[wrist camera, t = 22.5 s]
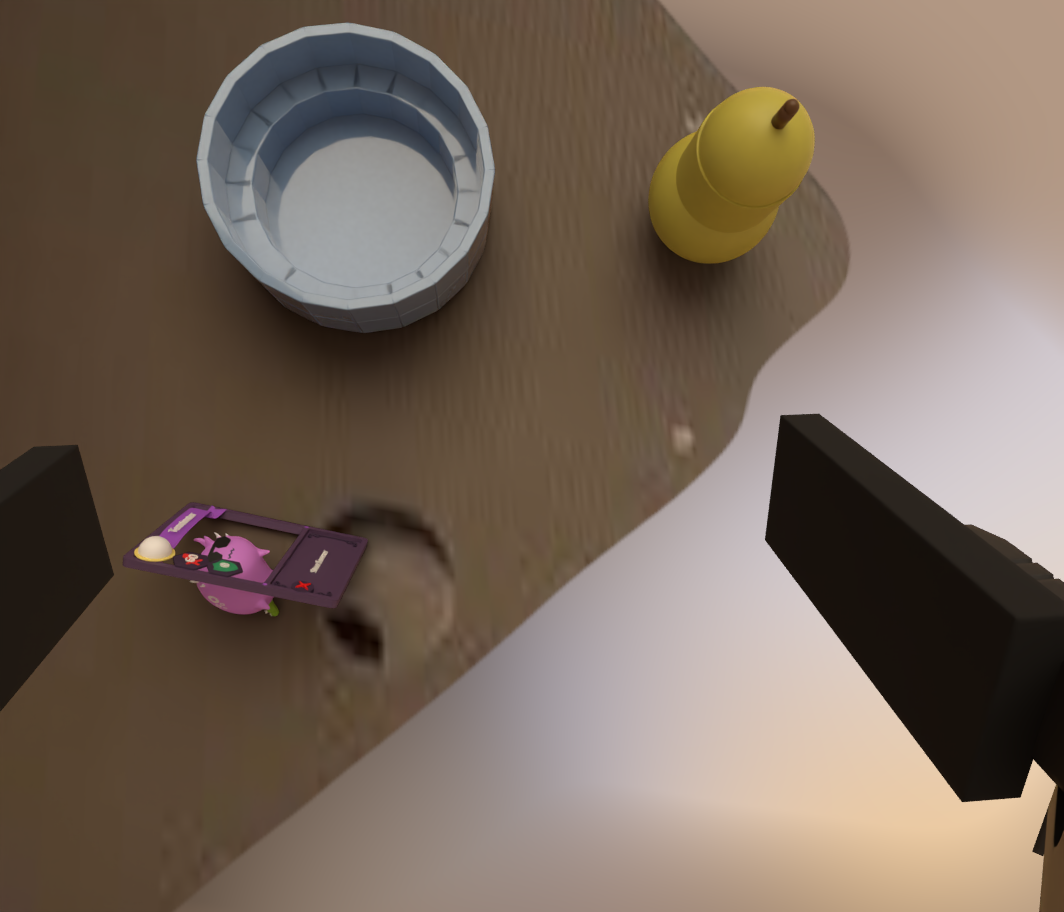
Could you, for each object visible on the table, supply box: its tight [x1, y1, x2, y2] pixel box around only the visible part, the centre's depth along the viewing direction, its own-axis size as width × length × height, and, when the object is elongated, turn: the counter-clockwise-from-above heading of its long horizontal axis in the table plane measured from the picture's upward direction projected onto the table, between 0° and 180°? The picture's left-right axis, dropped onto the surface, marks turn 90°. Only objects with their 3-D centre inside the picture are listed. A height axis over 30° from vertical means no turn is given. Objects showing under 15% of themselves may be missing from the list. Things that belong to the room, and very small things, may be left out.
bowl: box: [197, 23, 495, 333], centre depth 35 cm, size 13×13×6 cm
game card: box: [123, 503, 368, 617], centre depth 34 cm, size 7×5×9 cm
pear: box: [648, 87, 815, 264], centre depth 34 cm, size 6×6×12 cm
